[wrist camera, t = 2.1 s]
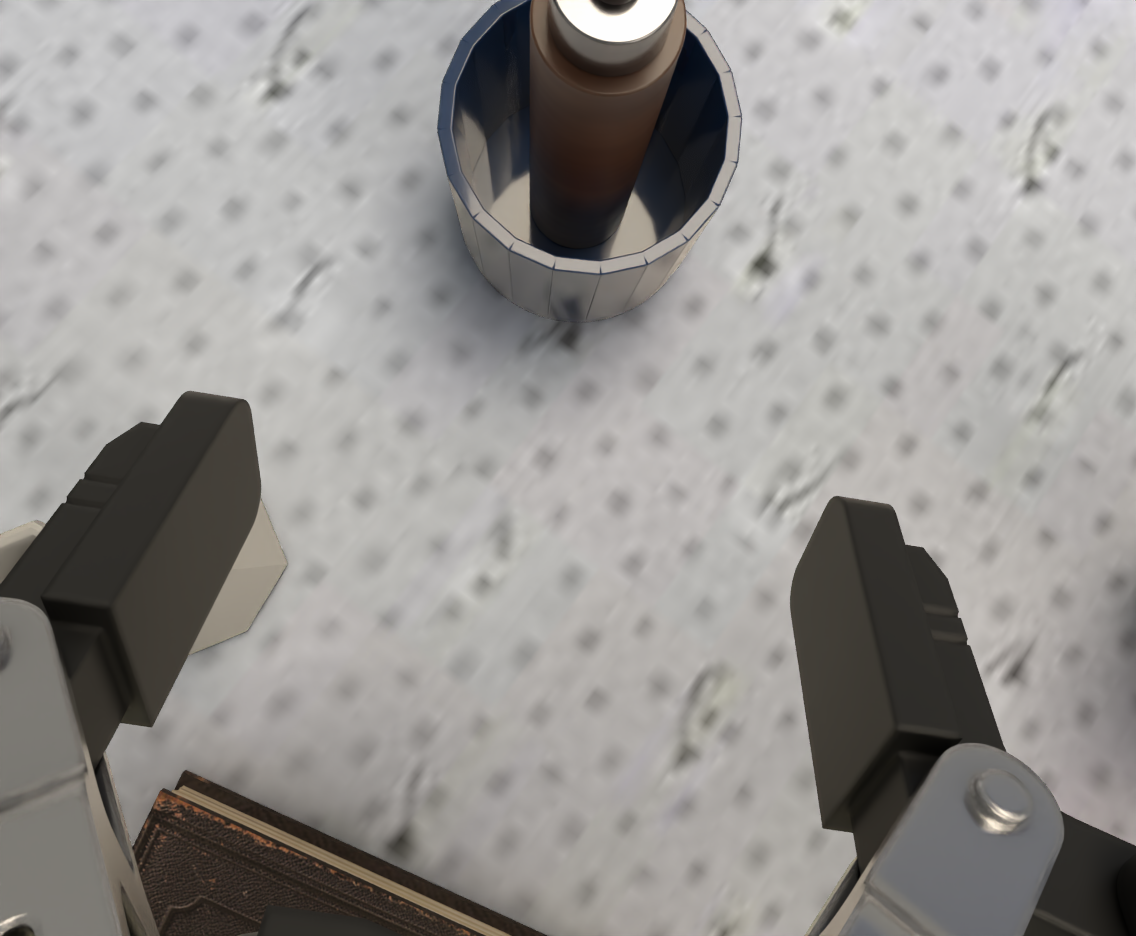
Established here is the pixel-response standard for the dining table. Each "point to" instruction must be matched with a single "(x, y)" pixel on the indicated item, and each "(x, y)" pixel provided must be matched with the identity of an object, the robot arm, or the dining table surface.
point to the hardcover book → (280, 873)
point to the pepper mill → (595, 107)
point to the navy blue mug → (502, 174)
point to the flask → (238, 594)
